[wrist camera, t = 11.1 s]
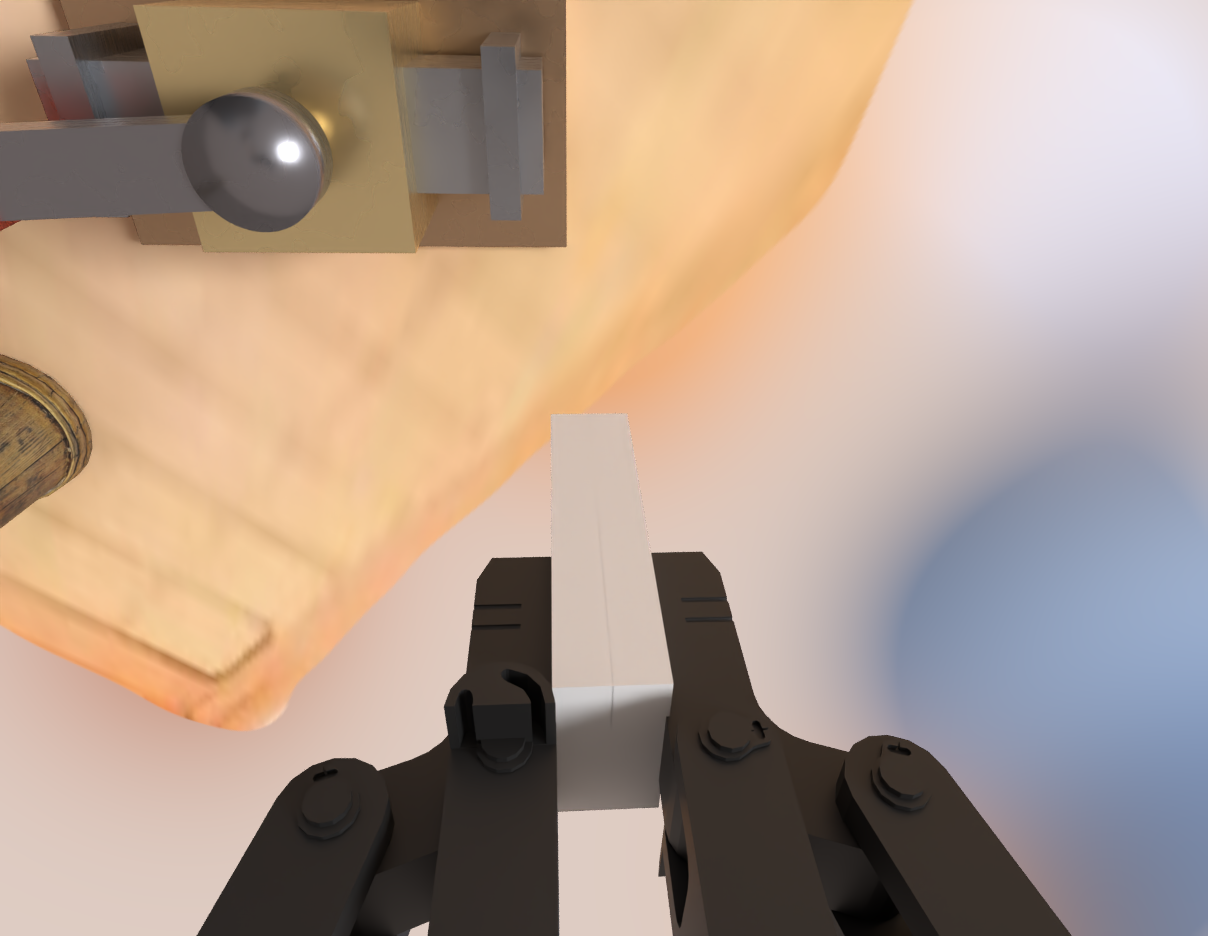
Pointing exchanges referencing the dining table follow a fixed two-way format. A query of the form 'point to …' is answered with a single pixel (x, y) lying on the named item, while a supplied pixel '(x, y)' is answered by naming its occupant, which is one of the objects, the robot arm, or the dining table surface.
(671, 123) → the dining table surface
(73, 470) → the wooden mug
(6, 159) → the lever
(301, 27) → the valve body
